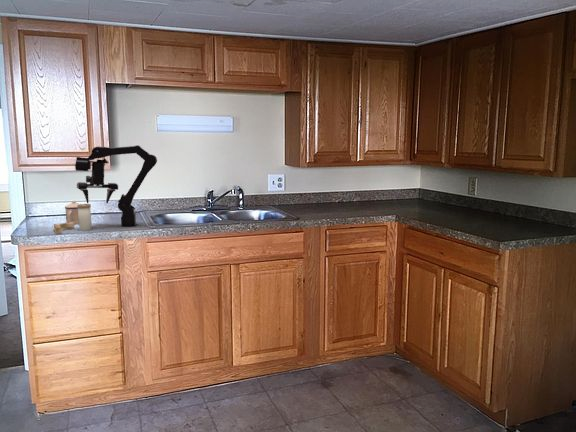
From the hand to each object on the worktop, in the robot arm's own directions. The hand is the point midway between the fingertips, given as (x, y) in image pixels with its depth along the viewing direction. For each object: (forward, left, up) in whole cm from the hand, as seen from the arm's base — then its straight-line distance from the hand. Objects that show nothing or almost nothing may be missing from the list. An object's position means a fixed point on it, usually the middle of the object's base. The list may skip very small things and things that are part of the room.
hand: (97, 203), depth 252 cm
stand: (+13, +11, -12) cm, 20 cm away
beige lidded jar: (+15, -11, -12) cm, 22 cm away
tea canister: (+4, +7, -12) cm, 15 cm away
